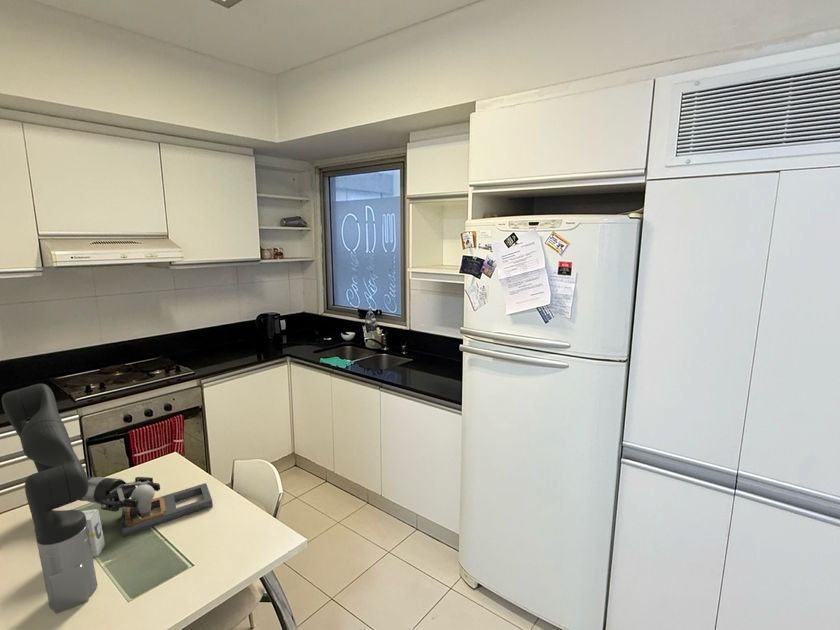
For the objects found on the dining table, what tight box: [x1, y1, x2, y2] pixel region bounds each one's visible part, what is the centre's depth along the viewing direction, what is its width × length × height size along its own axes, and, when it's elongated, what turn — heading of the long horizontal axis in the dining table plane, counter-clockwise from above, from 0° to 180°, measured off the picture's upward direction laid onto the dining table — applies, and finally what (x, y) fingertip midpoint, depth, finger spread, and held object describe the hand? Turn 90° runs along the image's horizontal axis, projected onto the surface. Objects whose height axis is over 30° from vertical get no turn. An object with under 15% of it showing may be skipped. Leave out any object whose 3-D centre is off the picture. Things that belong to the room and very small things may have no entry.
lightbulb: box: [130, 484, 156, 519], centre depth 132 cm, size 6×6×11 cm
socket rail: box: [121, 482, 214, 538], centre depth 136 cm, size 12×24×3 cm, turn 125°
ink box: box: [81, 508, 106, 558], centre depth 117 cm, size 9×5×12 cm, turn 105°
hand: (148, 495), depth 131 cm, fingers open, 8 cm apart
